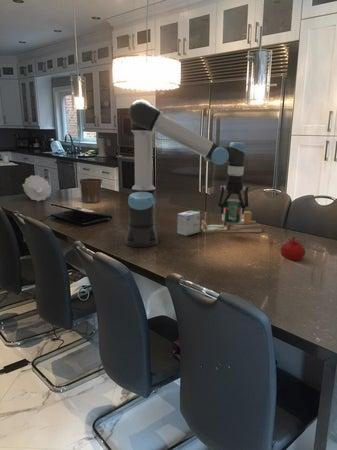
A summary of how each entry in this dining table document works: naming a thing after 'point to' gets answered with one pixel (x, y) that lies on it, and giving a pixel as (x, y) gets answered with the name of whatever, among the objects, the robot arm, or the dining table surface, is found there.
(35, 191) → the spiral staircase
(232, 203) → the canned tomato
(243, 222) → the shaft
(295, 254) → the pomegranate
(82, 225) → the dining table surface
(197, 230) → the light bulb box
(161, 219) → the dining table surface
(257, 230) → the base
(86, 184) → the plant pot
